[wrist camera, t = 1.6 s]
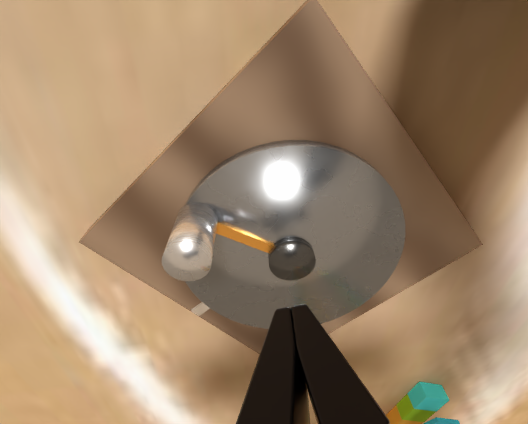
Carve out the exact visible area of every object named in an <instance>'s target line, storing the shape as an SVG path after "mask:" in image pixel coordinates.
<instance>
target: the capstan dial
mask: <svg viewBox="0 0 528 424" xmlns="http://www.w3.org/2000/svg"><path fill="white" fill-rule="evenodd" d="M404 242H405V219H404V213H403V210H402V207H401V204H400V202H399V199H398V197H397V196H396V194H395V192H394V190H393V189H392V187H391V186H390V185H389V184H388V183H387V181H386V180H385V179H384V178H383V177H382V175H381V174H380V173H379V172H378V171H377V170H376V169H375V168H374V167H373V166H371V165H370V164H369V163H368V162H367V161H365V160H364V159H362V158H361V157H359V156H357V155H356V154H354V153H352V152H350V151H348V150H345V149H343V148H341V147H338V146H335V145H331V144H328V143H324V142H318V141H310V140H284V141H276V142H269V143H266V144H262V145H258V146H254V147H251V148H249V149H246V150H244V151H241V152H239V153H237V154H235V155H233V156H232V157H230V158H228V159H226V160H224V161H223V162H222V163H220V164H219V165H217V166H216V167H215V168H213V169H212V170H211V171H210V172H209V173H208V174H207V175H206V176H205V177H204V178H203V179H202V180H201V181H200V182H199V183H198V185H197V186H196V187H195V189H194V190H193V191H192V192H191V194H190V196H189V198H188V200H187V202H186V204H185V205H184V206H183V207H182V208H181V209H180V210H179V212H178V215H177V218H176V221H175V223H174V226H173V229H172V232H171V234H170V237H169V240H168V242H167V245H166V248H165V251H164V253H163V256H162V266H163V268H164V270H165V271H166V272H167V273H168V274H169V275H170V276H172V277H173V278H175V279H178V280H181V281H185V282H186V284H187V285H188V287H189V288H190V289H191V291H192V292H193V293H194V294H195V296H196V297H197V298H198V299H199V300H200V301H201V302H203V303H204V304H205V305H206V306H208V307H209V308H210V309H212V310H213V311H215V312H217V313H218V314H220V315H222V316H224V317H226V318H228V319H230V320H233V321H235V322H238V323H241V324H245V325H249V326H253V327H258V328H265V329H269V326H270V324H271V321H272V318H273V315H274V312H275V310H276V309H279V308H284V307H290V308H292V306H295V305H300V304H306V305H307V306H308V307H309V308H310V310H311V311H312V313H313V314H314V315H315V317H316V318H317V320H318V321H319V322H320V324H322V323H325V322H329V321H331V320H334V319H336V318H339V317H341V316H343V315H345V314H347V313H349V312H351V311H353V310H354V309H356V308H358V307H359V306H361V305H362V304H364V303H365V302H366V301H368V300H369V299H370V298H371V297H372V296H374V295H375V294H376V293H377V292H378V291H379V290H380V289H381V288H382V287H383V285H384V284H385V283H386V282H387V281H388V279H389V278H390V276H391V275H392V273H393V272H394V270H395V268H396V266H397V264H398V262H399V260H400V257H401V254H402V251H403V248H404Z"/></svg>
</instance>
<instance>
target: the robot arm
mask: <svg viewBox="0 0 528 424" xmlns="http://www.w3.org/2000/svg"><path fill="white" fill-rule="evenodd" d="M307 389H308V391H307ZM308 392H309V396H310V400H311V403H312V407H313V410H314V413H315V417H316V420H317V423H318V424H390V421H389V419H388V418H387V416H386V415H385V414H384V412H383V411H382V409H381V408H380V407H379V405H378V404H377V402H376V401H375V400H374V398H373V397H372V395H371V394H370V393H369V391H368V390H367V388H366V387H365V386H364V384H363V383H362V381H361V380H360V379H359V377H358V376H357V374H356V373H355V372H354V370H353V369H352V367H351V366H350V365H349V363H348V362H347V360H346V359H345V358H344V356H343V355H342V353H341V352H340V351H339V349H338V348H337V346H336V345H335V343H334V342H333V341H332V339H331V338H330V336H329V335H328V334H327V332H326V331H325V329H324V328H323V327H322V325H321V324H320V322H319V321H318V320H317V318H316V317H315V315H314V314H313V313H312V311H311V310H310V308H309V307H308V306H307V305H306V304H300V305H295V306H292V308H290V307H284V308H279V309H276V310H275V312H274V315H273V318H272V321H271V324H270V326H269V329H268V332H267V335H266V338H265V341H264V344H263V347H262V349H261V352H260V355H259V358H258V361H257V364H256V367H255V370H254V373H253V375H252V378H251V381H250V384H249V387H248V390H247V393H246V396H245V399H244V401H243V404H242V407H241V410H240V413H239V416H238V419H237V422H236V424H310V416H309V401H308Z"/></svg>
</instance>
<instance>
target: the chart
mask: <svg viewBox="0 0 528 424" xmlns="http://www.w3.org/2000/svg"><path fill="white" fill-rule="evenodd" d="M448 401H449V398H448V396H447V394H446V392H445V391H444V389H443V387H442V385H438V384H432V383H425V382H418V383H417V384H416V385H415V386H414V387H413V388H412V389H411V390H410V391H409V393H408V394H407V395H406V396H405V397H404V398H403V399H402V400H401V401H400V402H399V403H398V404H397V405H396V406H395V407H394V408H393V409H392V410H391V411H390V412H389V413H388V414H387V415H386V416H387V418H388V419H389V421H390V424H422V423H423V422H425V421H426V420H427V419H428V418H429V417H430V416H432V415H433V414H434V413H435V412H437V411H438V410H439V409H440V408H441V407H442V406H443V405H444V404H446V403H447V402H448ZM424 424H460V423H459V421H458V420H453V419H445V418H437V417H436V418H434V419H432V420H430V421H428V422H426V423H424Z"/></svg>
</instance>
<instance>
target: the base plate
mask: <svg viewBox="0 0 528 424" xmlns="http://www.w3.org/2000/svg"><path fill="white" fill-rule="evenodd" d="M284 140H310V141H318V142H324V143H328V144H331V145H335V146H338V147H341V148H343V149H345V150H348V151H350V152H352V153H354V154H356V155H357V156H359V157H361V158H362V159H364V160H365V161H367V162H368V163H369V164H370V165H371V166H373V167H374V168H375V169H376V170H377V171H378V172H379V173H380V174H381V175H382V177H383V178H384V179H385V180H386V181H387V183H388V184H389V185H390V186H391V187H392V189H393V190H394V192H395V194H396V196H397V197H398V199H399V202H400V204H401V207H402V210H403V213H404V219H405V242H404V248H403V251H402V254H401V257H400V260H399V262H398V264H397V266H396V268H395V270H394V272H393V273H392V275H391V276H390V278H389V279H388V281H387V282H386V283H385V284H384V285H383V287H382V288H381V289H380V290H379V291H378V292H377V293H376V294H375V295H374V296H372V297H371V298H370V299H369V300H368V301H366V302H365V303H364V304H362V305H361V306H359V307H358V308H356V309H354V310H353V311H351V312H349V313H347V314H345V315H343V316H341V317H339V318H336V319H334V320H331V321H329V322H325V323H322V324H321V325H322V327H323V328H324V329H325V331H326V332H327V334H329V333H331V332H332V331H334V330H336V329H338V328H339V327H341V326H343V325H345V324H346V323H348V322H350V321H351V320H353V319H355V318H357V317H358V316H360V315H362V314H364V313H365V312H367V311H369V310H370V309H372V308H374V307H376V306H377V305H379V304H381V303H383V302H384V301H386V300H388V299H389V298H391V297H393V296H395V295H396V294H398V293H400V292H402V291H403V290H405V289H407V288H408V287H410V286H412V285H414V284H415V283H417V282H419V281H421V280H422V279H424V278H426V277H427V276H429V275H431V274H433V273H434V272H436V271H438V270H439V269H441V268H443V267H445V266H446V265H448V264H450V263H452V262H453V261H455V260H457V259H458V258H460V257H462V256H464V255H465V254H467V253H469V252H471V251H472V250H474V249H476V248H477V247H479V246H481V245H483V244H482V243H481V241H480V240H479V238H478V237H477V235H476V234H475V232H474V231H473V229H472V228H471V226H470V225H469V223H468V222H467V220H466V219H465V218H464V216H463V215H462V213H461V212H460V210H459V209H458V207H457V206H456V204H455V203H454V201H453V200H452V198H451V197H450V195H449V194H448V192H447V191H446V189H445V188H444V187H443V185H442V184H441V182H440V181H439V179H438V178H437V176H436V175H435V173H434V172H433V170H432V169H431V167H430V166H429V164H428V163H427V161H426V160H425V159H424V157H423V156H422V154H421V153H420V151H419V150H418V148H417V147H416V145H415V144H414V142H413V141H412V139H411V138H410V136H409V135H408V133H407V132H406V131H405V129H404V128H403V126H402V125H401V123H400V122H399V120H398V119H397V117H396V116H395V114H394V113H393V111H392V110H391V108H390V107H389V105H388V104H387V102H386V101H385V100H384V98H383V97H382V95H381V94H380V92H379V91H378V89H377V88H376V86H375V85H374V83H373V82H372V80H371V79H370V77H369V76H368V74H367V73H366V72H365V70H364V69H363V67H362V66H361V64H360V63H359V61H358V60H357V58H356V57H355V55H354V54H353V52H352V51H351V49H350V48H349V46H348V45H347V43H346V42H345V41H344V39H343V38H342V36H341V35H340V33H339V32H338V30H337V29H336V27H335V26H334V24H333V23H332V21H331V20H330V18H329V17H328V15H327V14H326V13H325V11H324V10H323V8H322V7H321V5H320V4H319V2H318V1H317V0H307V1H306V2H305V3H304V4H303V5H302V6H301V7H300V8H299V9H298V10H297V11H296V12H295V13H294V14H293V15H292V17H291V18H290V19H289V20H288V21H287V22H286V23H285V24H284V25H283V26H282V27H281V28H280V29H279V30H278V31H277V32H276V33H275V34H274V35H273V36H272V37H271V39H270V40H269V41H268V42H267V43H266V44H265V45H264V46H263V47H262V48H261V49H260V50H259V51H258V52H257V53H256V54H255V55H254V56H253V57H252V58H251V59H250V61H249V62H248V63H247V64H246V65H245V66H244V67H243V68H242V69H241V70H240V71H239V72H238V73H237V74H236V75H235V76H234V77H233V78H232V79H231V80H230V82H229V83H228V84H227V85H226V86H225V87H224V88H223V89H222V90H221V91H220V92H219V93H218V94H217V95H216V96H215V97H214V98H213V99H212V100H211V101H210V102H209V104H208V105H207V106H206V107H205V108H204V109H203V110H202V111H201V112H200V113H199V114H198V115H197V116H196V117H195V118H194V119H193V120H192V121H191V122H190V123H189V125H188V126H187V127H186V128H185V129H184V130H183V131H182V132H181V133H180V134H179V135H178V136H177V137H176V138H175V139H174V140H173V141H172V142H171V143H170V144H169V145H168V147H167V148H166V149H165V150H164V151H163V152H162V153H161V154H160V155H159V156H158V157H157V158H156V159H155V160H154V161H153V162H152V163H151V164H150V165H149V166H148V167H147V169H146V170H145V171H144V172H143V173H142V174H141V175H140V176H139V177H138V178H137V179H136V180H135V181H134V182H133V183H132V184H131V185H130V186H129V187H128V188H127V190H126V191H125V192H124V193H123V194H122V195H121V196H120V197H119V198H118V199H117V200H116V201H115V202H114V203H113V204H112V205H111V206H110V207H109V208H108V209H107V210H106V212H105V213H104V214H103V215H102V216H101V217H100V218H99V219H98V220H97V221H96V222H95V223H94V224H93V225H92V226H91V227H90V228H89V229H88V231H87V232H86V233H85V235H84V236H83V237H82V238H81V240H80V241H79V242H80V243H81V244H83V245H85V246H86V247H88V248H89V249H91V250H93V251H94V252H96V253H97V254H99V255H101V256H102V257H104V258H106V259H107V260H109V261H110V262H112V263H114V264H115V265H117V266H118V267H120V268H122V269H123V270H125V271H127V272H128V273H130V274H131V275H133V276H135V277H136V278H138V279H139V280H141V281H143V282H144V283H146V284H148V285H149V286H151V287H152V288H154V289H156V290H157V291H159V292H160V293H162V294H164V295H165V296H167V297H169V298H170V299H172V300H173V301H175V302H177V303H178V304H180V305H181V306H183V307H185V308H186V309H188V310H190V311H191V312H193V313H194V314H196V315H198V316H199V317H201V318H202V319H204V320H206V321H207V322H209V323H211V324H212V325H214V326H215V327H217V328H219V329H220V330H222V331H223V332H225V333H227V334H228V335H230V336H231V337H233V338H235V339H236V340H238V341H240V342H241V343H243V344H244V345H246V346H248V347H249V348H251V349H252V350H254V351H256V352H257V353H259V354H260V352H261V349H262V347H263V344H264V341H265V338H266V335H267V332H268V329H265V328H258V327H253V326H249V325H245V324H241V323H238V322H235V321H233V320H230V319H228V318H226V317H224V316H222V315H220V314H218V313H217V312H215V311H213V310H212V309H210V308H209V307H208V306H206V305H205V304H204V303H203V302H201V301H200V300H199V299H198V298H197V297H196V296H195V294H194V293H193V292H192V291H191V289H190V288H189V287H188V285H187V284H186V282H185V281H181V280H178V279H175V278H173V277H172V276H170V275H169V274H168V273H167V272H166V271H165V270H164V268H163V266H162V256H163V253H164V251H165V248H166V245H167V242H168V240H169V237H170V234H171V232H172V229H173V226H174V223H175V221H176V218H177V215H178V212H179V210H180V209H181V208H182V207H183V206H184V205H185V204H186V202H187V200H188V198H189V196H190V194H191V192H192V191H193V190H194V189H195V187H196V186H197V185H198V183H199V182H200V181H201V180H202V179H203V178H204V177H205V176H206V175H207V174H208V173H209V172H210V171H211V170H212V169H213V168H215V167H216V166H217V165H219V164H220V163H222V162H223V161H224V160H226V159H228V158H230V157H232V156H233V155H235V154H237V153H239V152H241V151H244V150H246V149H249V148H251V147H254V146H258V145H262V144H266V143H269V142H276V141H284Z"/></svg>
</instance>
